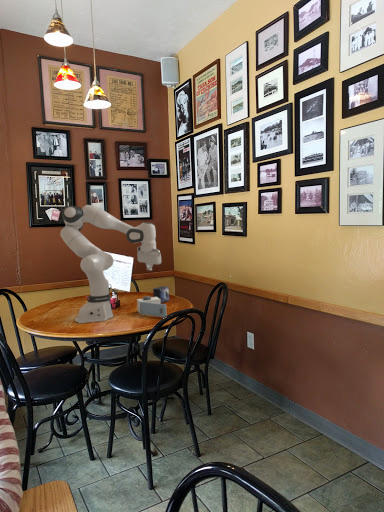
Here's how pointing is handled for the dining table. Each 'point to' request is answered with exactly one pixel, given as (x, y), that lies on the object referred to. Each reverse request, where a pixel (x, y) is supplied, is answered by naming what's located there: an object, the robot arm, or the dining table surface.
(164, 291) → the small box
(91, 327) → the dining table surface
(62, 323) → the dining table surface
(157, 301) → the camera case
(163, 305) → the case door
